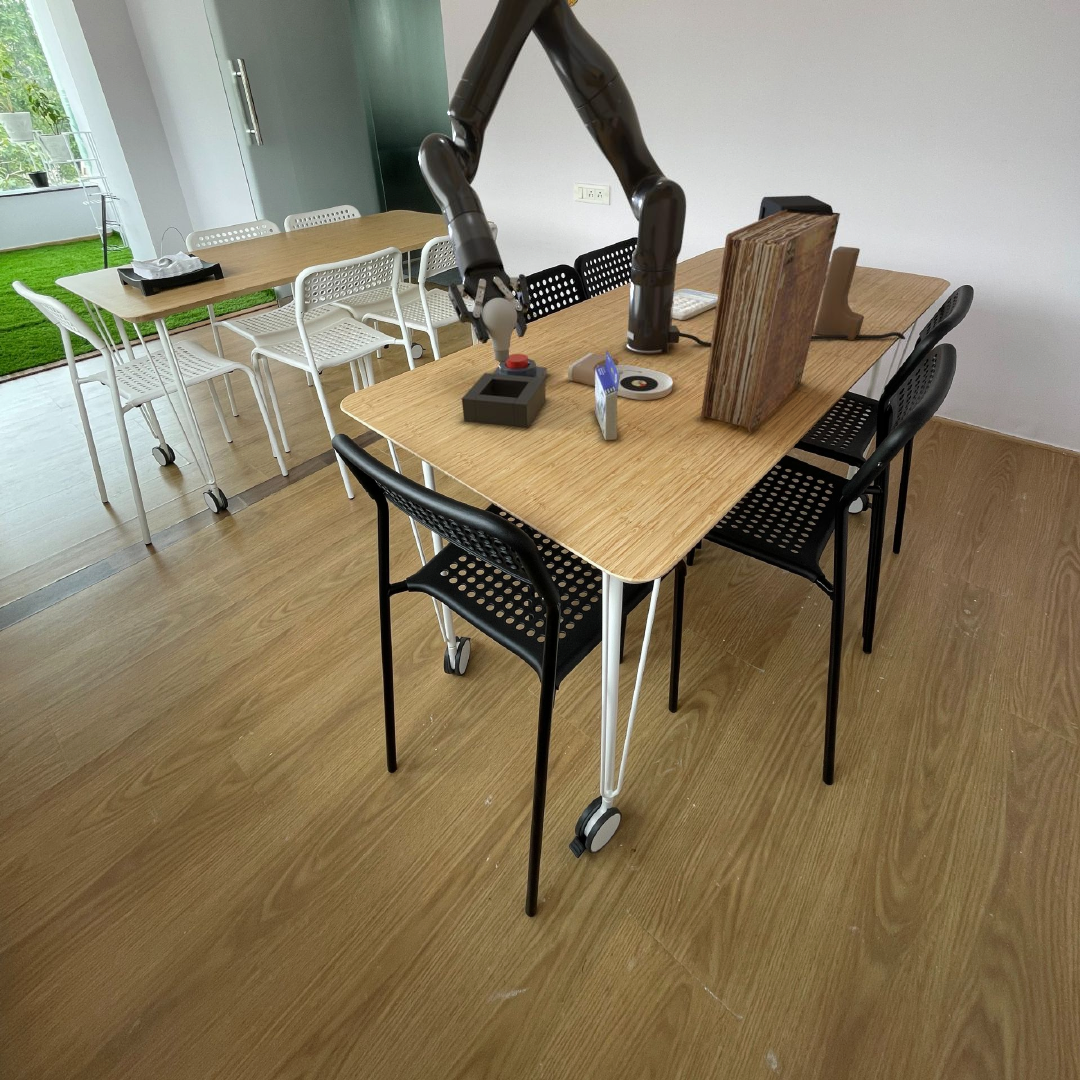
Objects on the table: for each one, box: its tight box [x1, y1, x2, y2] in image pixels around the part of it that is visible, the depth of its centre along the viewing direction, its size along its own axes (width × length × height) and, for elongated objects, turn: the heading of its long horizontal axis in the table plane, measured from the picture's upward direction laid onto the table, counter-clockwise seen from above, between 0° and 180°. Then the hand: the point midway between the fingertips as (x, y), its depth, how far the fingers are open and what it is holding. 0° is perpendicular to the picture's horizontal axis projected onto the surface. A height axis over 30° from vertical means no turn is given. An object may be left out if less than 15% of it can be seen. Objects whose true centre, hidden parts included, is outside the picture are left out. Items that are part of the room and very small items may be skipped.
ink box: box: [594, 349, 620, 441], centre depth 105 cm, size 12×2×12 cm, turn 5°
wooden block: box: [813, 246, 865, 341], centre depth 137 cm, size 9×4×18 cm, turn 52°
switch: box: [491, 358, 548, 379], centre depth 125 cm, size 10×8×4 cm
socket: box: [461, 372, 547, 429], centre depth 113 cm, size 12×12×4 cm
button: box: [506, 353, 529, 369], centre depth 123 cm, size 4×4×2 cm
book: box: [700, 209, 841, 433], centre depth 106 cm, size 25×9×30 cm, turn 143°
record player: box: [567, 352, 674, 401], centre depth 122 cm, size 12×3×20 cm
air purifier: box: [757, 195, 834, 221], centre depth 177 cm, size 20×15×20 cm
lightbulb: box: [480, 298, 517, 364], centre depth 106 cm, size 6×6×11 cm
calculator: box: [672, 288, 718, 321], centre depth 161 cm, size 13×20×2 cm, turn 136°
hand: (504, 337), depth 105 cm, fingers closed on lightbulb, 6 cm apart
